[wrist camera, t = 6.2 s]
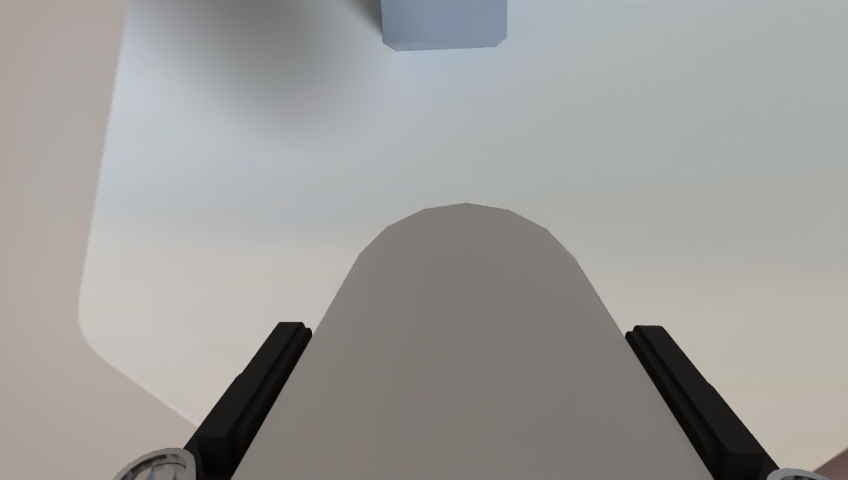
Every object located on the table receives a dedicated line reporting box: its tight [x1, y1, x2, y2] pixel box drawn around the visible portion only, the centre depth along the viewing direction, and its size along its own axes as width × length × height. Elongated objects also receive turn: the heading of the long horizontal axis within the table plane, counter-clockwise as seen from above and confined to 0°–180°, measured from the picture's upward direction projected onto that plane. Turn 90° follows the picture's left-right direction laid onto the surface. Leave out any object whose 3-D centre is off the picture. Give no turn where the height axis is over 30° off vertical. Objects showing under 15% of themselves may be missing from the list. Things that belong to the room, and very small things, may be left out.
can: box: [231, 203, 714, 480], centre depth 9 cm, size 8×8×12 cm
